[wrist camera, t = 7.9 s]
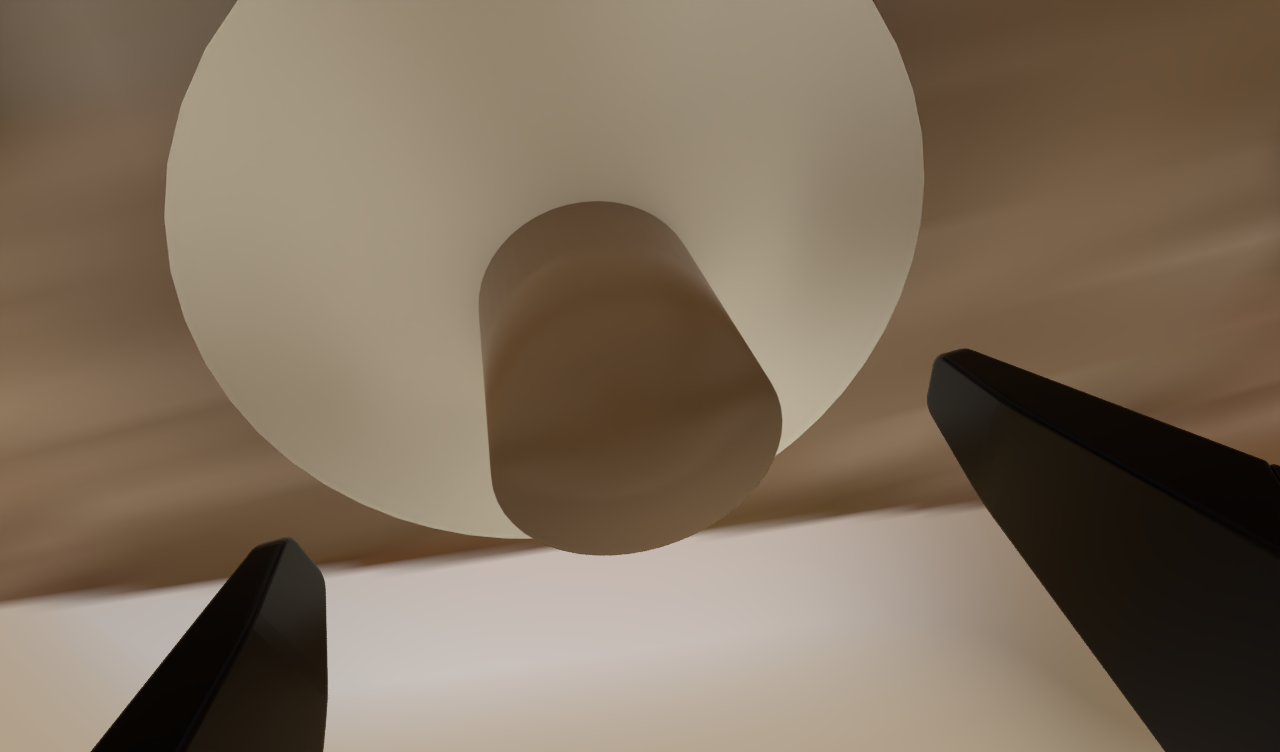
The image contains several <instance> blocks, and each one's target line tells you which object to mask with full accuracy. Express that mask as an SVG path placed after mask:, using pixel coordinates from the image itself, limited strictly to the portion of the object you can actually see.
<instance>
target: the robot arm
mask: <svg viewBox="0 0 1280 752" xmlns="http://www.w3.org/2000/svg"><path fill="white" fill-rule="evenodd" d="M927 405H928V409H929V411H930V414H931V416H932V417H933V419H934V421H935V423H936V424H937V426H938V428H939V429H940V431H941V433H942V435H943V436H944V438H945V440H946V442H947V443H948V445H949V447H950V448H951V450H952V452H953V454H954V455H955V457H956V459H957V461H958V462H959V464H960V466H961V467H962V469H963V471H964V473H965V474H966V476H967V478H968V480H969V481H970V483H971V485H972V487H973V488H974V490H975V491H976V493H977V495H978V496H979V498H980V499H981V501H982V502H983V504H984V505H985V507H986V508H987V510H988V511H989V512H990V514H991V515H992V517H993V518H994V519H995V521H996V522H997V523H998V525H999V526H1000V527H1001V529H1002V530H1003V532H1004V533H1005V534H1006V536H1007V537H1008V538H1009V540H1010V541H1011V542H1012V544H1013V545H1014V547H1015V548H1016V549H1017V551H1018V552H1019V553H1020V555H1021V556H1022V557H1023V559H1024V560H1025V562H1026V563H1027V564H1028V566H1029V567H1030V568H1031V570H1032V571H1033V572H1034V574H1035V575H1036V577H1037V578H1038V579H1039V580H1040V582H1041V583H1042V585H1043V586H1044V587H1045V589H1046V590H1047V591H1048V593H1049V594H1050V596H1051V597H1052V598H1053V600H1054V601H1055V602H1056V604H1057V605H1058V606H1059V608H1060V609H1061V611H1062V612H1063V613H1064V615H1065V616H1066V617H1067V619H1068V620H1069V621H1070V623H1071V624H1072V625H1073V627H1074V628H1075V630H1076V631H1077V632H1078V634H1079V635H1080V636H1081V638H1082V639H1083V640H1084V642H1085V643H1086V645H1087V646H1088V647H1089V649H1090V650H1091V651H1092V653H1093V654H1094V656H1095V657H1096V658H1097V660H1098V661H1099V662H1100V664H1101V665H1102V666H1103V668H1104V669H1105V671H1106V672H1107V673H1108V675H1109V676H1110V677H1111V679H1112V680H1113V681H1114V683H1115V684H1116V685H1117V687H1118V688H1119V690H1120V691H1121V692H1122V694H1123V695H1124V696H1125V698H1126V699H1127V700H1128V702H1129V703H1130V705H1131V706H1132V707H1133V708H1134V710H1135V711H1136V713H1137V714H1138V715H1139V717H1140V718H1141V720H1142V721H1143V722H1144V723H1145V725H1146V726H1147V728H1148V729H1149V730H1150V732H1151V733H1152V734H1153V736H1154V737H1155V739H1156V740H1157V741H1158V742H1159V744H1160V745H1161V747H1162V748H1163V749H1164V751H1165V752H1280V466H1279V465H1276V464H1272V465H1269V464H1268V463H1267V462H1266V461H1265V460H1262V459H1259V458H1257V457H1254V456H1252V455H1249V454H1246V453H1244V452H1241V451H1238V450H1236V449H1233V448H1230V447H1228V446H1225V445H1222V444H1220V443H1217V442H1214V441H1212V440H1209V439H1206V438H1204V437H1201V436H1199V435H1196V434H1193V433H1191V432H1188V431H1185V430H1183V429H1180V428H1177V427H1175V426H1172V425H1169V424H1167V423H1164V422H1161V421H1159V420H1156V419H1154V418H1151V417H1148V416H1146V415H1143V414H1140V413H1138V412H1135V411H1132V410H1130V409H1127V408H1124V407H1122V406H1119V405H1116V404H1114V403H1111V402H1108V401H1106V400H1103V399H1101V398H1098V397H1095V396H1093V395H1090V394H1087V393H1085V392H1082V391H1079V390H1077V389H1074V388H1071V387H1069V386H1066V385H1063V384H1061V383H1058V382H1055V381H1053V380H1050V379H1048V378H1045V377H1042V376H1040V375H1037V374H1034V373H1032V372H1029V371H1026V370H1024V369H1021V368H1018V367H1016V366H1013V365H1010V364H1008V363H1005V362H1002V361H1000V360H997V359H995V358H992V357H989V356H987V355H984V354H981V353H979V352H976V351H973V350H970V349H965V348H964V349H958V350H954V351H951V352H947V353H944V354H940V355H939V356H937V358H936V359H935V360H934V363H933V367H932V373H931V378H930V383H929V388H928V393H927ZM327 700H328V670H327V630H326V589H325V581H324V578H323V575H322V573H321V571H320V570H319V568H318V567H317V566H316V565H315V564H314V562H313V561H312V560H311V559H310V558H309V556H308V555H307V554H306V553H305V551H304V550H303V549H302V548H301V547H300V545H299V544H298V543H297V542H296V541H295V540H294V539H291V538H289V537H287V538H281V539H277V540H274V541H270V542H266V543H263V544H260V545H258V546H256V547H255V548H254V549H253V550H252V551H251V552H250V553H249V554H248V555H247V557H246V558H245V559H244V560H243V562H242V563H241V564H240V565H239V567H238V568H237V569H236V570H235V572H234V573H233V574H232V575H231V577H230V578H229V579H228V580H227V582H226V583H225V584H224V585H223V587H222V588H221V589H220V590H219V592H218V593H217V594H216V595H215V597H214V598H213V599H212V600H211V602H210V603H209V604H208V605H207V607H206V608H205V609H204V610H203V612H202V613H201V614H200V615H199V617H198V618H197V619H196V621H195V622H194V623H193V624H192V625H191V627H190V628H189V629H188V630H187V632H186V633H185V634H184V635H183V637H182V638H181V639H180V641H179V642H178V643H177V645H175V647H174V648H173V649H172V651H171V652H170V653H169V654H168V656H167V657H166V658H165V659H164V660H163V662H162V663H161V664H160V666H159V667H158V668H157V669H156V671H155V672H154V673H153V674H152V676H151V677H150V678H149V679H148V681H147V682H146V683H145V684H144V686H143V687H142V688H141V689H140V691H139V692H138V693H137V694H136V696H135V697H134V698H133V699H132V701H131V702H130V703H129V704H128V706H127V707H126V708H125V709H124V711H123V712H122V713H121V714H120V716H119V717H118V718H117V720H116V721H115V722H114V723H113V724H112V726H111V727H110V728H109V729H108V731H107V732H106V733H105V734H104V736H103V737H102V738H101V739H100V741H99V742H98V743H97V744H96V746H95V747H94V748H93V749H92V751H91V752H323V748H324V738H325V727H326V715H327Z"/></svg>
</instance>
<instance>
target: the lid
mask: <svg viewBox="0 0 1280 752" xmlns="http://www.w3.org/2000/svg"><path fill="white" fill-rule="evenodd" d="M923 190H924V161H923V142H922V132H921V127H920V122H919V117H918V112H917V107H916V102H915V97H914V91H913V88H912V85H911V83H910V80H909V77H908V74H907V72H906V69H905V66H904V63H903V60H902V58H901V55H900V52H899V49H898V46H897V44H896V42H895V41H894V39H893V37H892V35H891V33H890V32H889V30H888V28H887V26H886V24H885V22H884V21H883V19H882V17H881V15H880V13H879V11H878V10H877V8H876V6H875V4H874V2H873V1H872V0H237V2H236V3H235V5H234V6H233V8H232V9H231V11H230V12H229V14H228V15H227V17H226V18H225V20H224V21H223V23H222V24H221V26H220V27H219V29H218V30H217V32H216V33H215V35H214V36H213V38H212V39H211V41H210V42H209V44H208V45H207V47H206V48H205V51H204V53H203V55H202V58H201V60H200V62H199V65H198V67H197V69H196V71H195V74H194V76H193V78H192V81H191V83H190V85H189V88H188V90H187V92H186V95H185V97H184V99H183V101H182V104H181V107H180V111H179V115H178V119H177V124H176V128H175V132H174V136H173V141H172V145H171V149H170V153H169V158H168V162H167V177H166V195H165V213H164V221H165V229H166V238H167V246H168V255H169V264H170V271H171V275H172V278H173V282H174V285H175V289H176V292H177V296H178V299H179V302H180V306H181V309H182V313H183V316H184V319H185V322H186V324H187V326H188V328H189V330H190V332H191V334H192V337H193V339H194V341H195V343H196V345H197V347H198V349H199V352H200V354H201V356H202V358H203V360H204V362H205V364H206V365H207V367H208V368H209V370H210V371H211V373H212V374H213V376H214V377H215V379H216V380H217V382H218V383H219V385H220V386H221V388H222V389H223V391H224V392H225V394H226V395H227V397H228V399H229V400H230V401H231V402H232V403H233V405H234V406H235V407H236V408H237V409H238V410H239V411H240V413H241V414H242V415H243V416H244V417H245V418H246V419H247V421H248V422H249V423H250V424H251V425H252V426H253V427H254V428H255V430H256V431H257V432H258V433H259V434H260V435H261V436H262V437H264V438H265V439H266V440H267V441H268V442H269V443H270V444H272V445H273V446H274V447H275V448H276V449H277V450H278V451H279V452H281V453H282V454H283V455H284V456H285V457H286V458H287V459H289V460H290V461H291V462H292V463H294V464H295V465H297V466H298V467H300V468H301V469H303V470H304V471H306V472H307V473H309V474H310V475H311V476H313V477H314V478H316V479H317V480H319V481H320V482H322V483H323V484H325V485H327V486H328V487H330V488H332V489H334V490H336V491H338V492H340V493H342V494H344V495H345V496H347V497H349V498H351V499H353V500H355V501H357V502H359V503H361V504H363V505H366V506H368V507H371V508H373V509H376V510H378V511H381V512H383V513H386V514H388V515H391V516H393V517H396V518H399V519H403V520H406V521H409V522H413V523H416V524H420V525H423V526H427V527H430V528H435V529H440V530H445V531H451V532H456V533H461V534H466V535H475V536H486V537H496V538H530V539H534V540H536V541H538V542H541V543H543V544H545V545H547V546H550V547H553V548H556V549H559V550H563V551H567V552H572V553H578V554H586V555H621V554H630V553H636V552H642V551H647V550H651V549H655V548H659V547H662V546H665V545H669V544H671V543H674V542H677V541H680V540H682V539H684V538H687V537H689V536H691V535H694V534H696V533H698V532H699V531H701V530H703V529H705V528H707V527H709V526H710V525H712V524H713V523H715V522H717V521H718V520H720V519H721V518H723V517H724V516H725V515H727V514H728V513H729V512H731V511H732V510H733V509H735V508H736V507H737V506H738V505H739V504H740V503H741V502H742V501H743V500H745V499H746V498H747V497H748V495H749V494H750V493H751V492H752V491H753V490H754V489H755V488H756V487H757V485H758V484H759V483H760V481H761V480H762V478H763V477H764V476H765V474H766V473H767V471H768V469H769V467H770V466H771V464H772V462H773V460H774V457H775V456H776V455H777V454H779V453H780V452H781V451H782V450H784V449H785V448H786V447H788V446H789V445H790V444H792V443H793V442H794V441H795V440H796V439H797V438H798V437H800V436H801V435H802V434H803V433H804V432H805V431H806V430H807V429H808V428H809V427H810V426H811V425H813V424H814V423H815V422H816V421H817V420H818V419H819V418H820V417H821V416H822V415H823V414H824V413H825V412H826V410H827V409H828V408H829V407H830V406H831V405H832V404H833V403H834V402H835V401H836V399H837V398H838V397H839V396H840V395H841V394H842V393H843V392H844V390H845V389H846V388H847V386H848V385H849V384H850V382H851V381H852V380H853V378H854V377H855V376H856V374H857V373H858V372H859V370H860V369H861V368H862V366H863V365H864V364H865V362H866V361H867V359H868V357H869V356H870V354H871V352H872V351H873V349H874V347H875V346H876V344H877V342H878V341H879V339H880V337H881V336H882V334H883V332H884V331H885V328H886V326H887V324H888V322H889V320H890V318H891V316H892V313H893V311H894V309H895V307H896V305H897V303H898V300H899V298H900V296H901V293H902V290H903V287H904V284H905V281H906V278H907V275H908V272H909V269H910V266H911V263H912V260H913V256H914V252H915V247H916V242H917V237H918V232H919V228H920V223H921V215H922V202H923Z"/></svg>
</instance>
